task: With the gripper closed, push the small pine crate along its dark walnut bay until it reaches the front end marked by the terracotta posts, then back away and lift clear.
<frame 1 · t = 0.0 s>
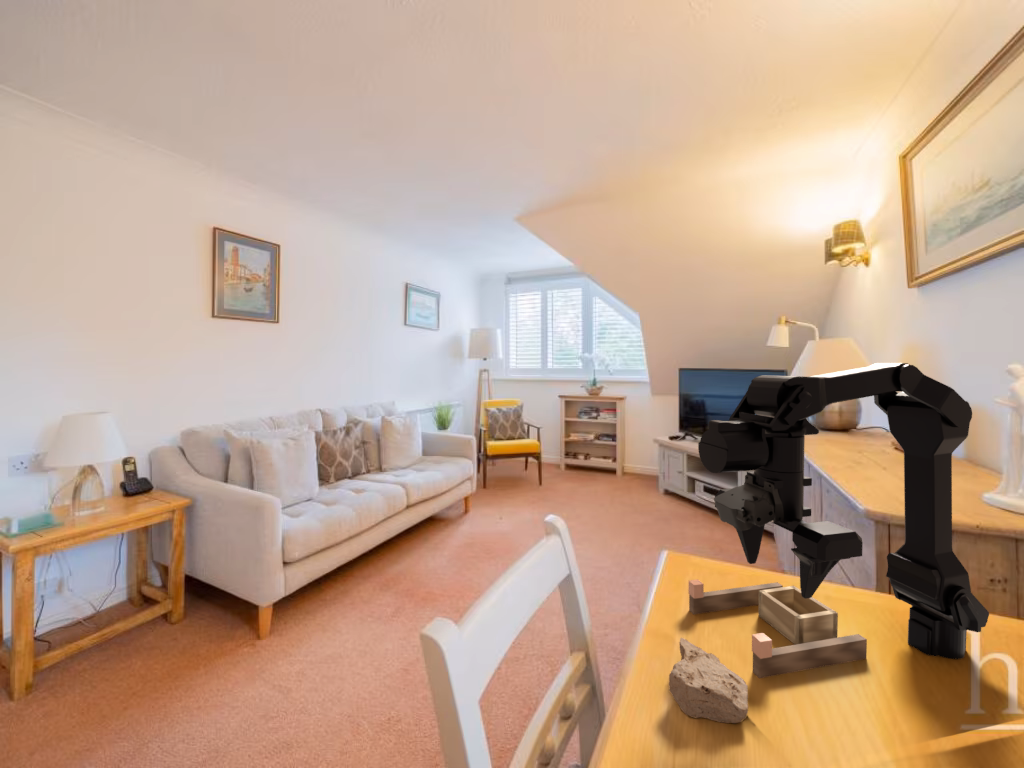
hand: (776, 579, 57), 15 cm above the table, fingers open, 9 cm apart
bay: (769, 637, 66), on the table
stone: (701, 698, 55), on the table
crate: (796, 614, 67), point 3 cm above the table, slide at 0.0 cm
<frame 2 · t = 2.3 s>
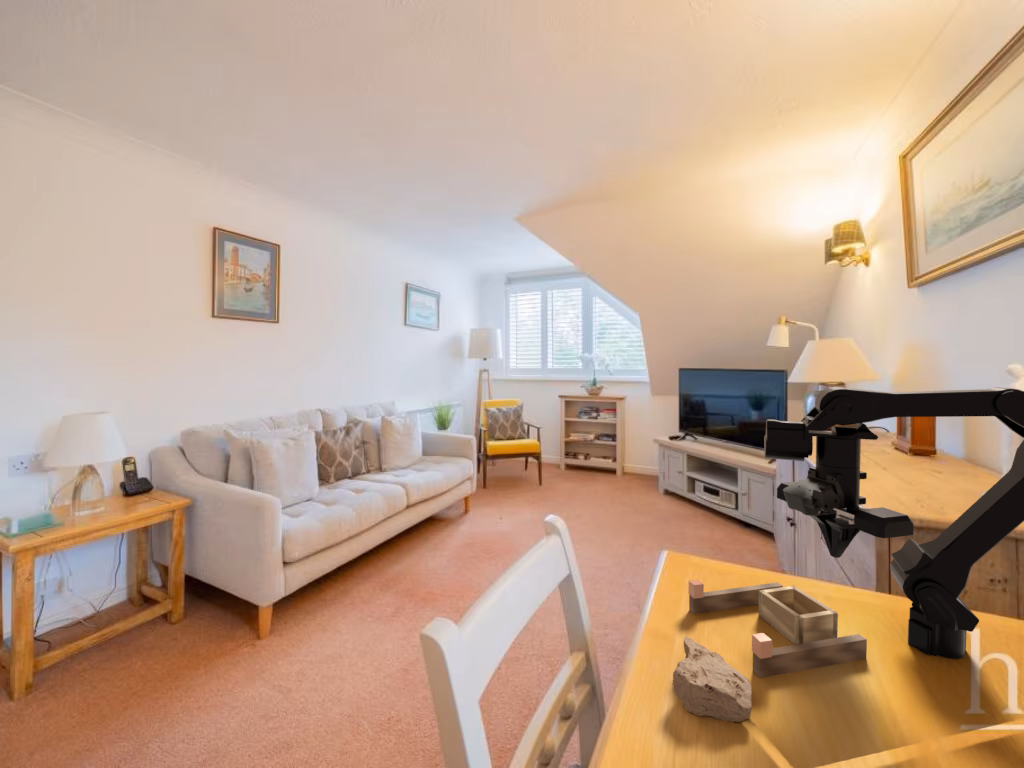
hand: (835, 556, 68), 12 cm above the table, fingers closed
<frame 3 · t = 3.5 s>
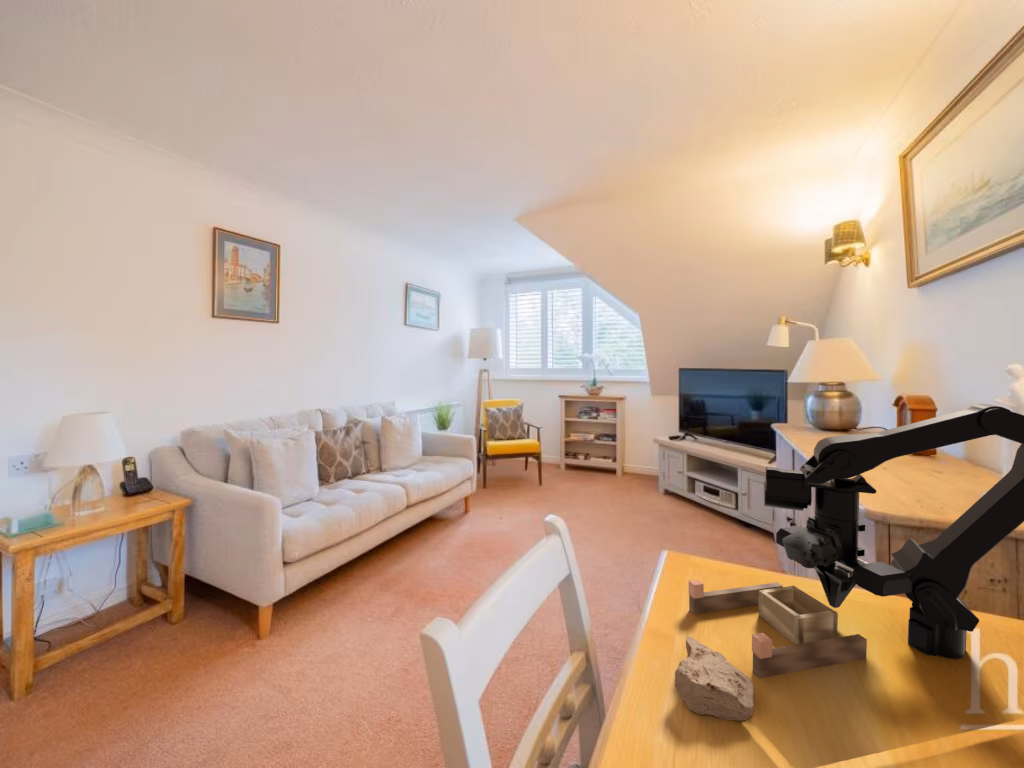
hand: (834, 606, 68), 4 cm above the table, fingers closed
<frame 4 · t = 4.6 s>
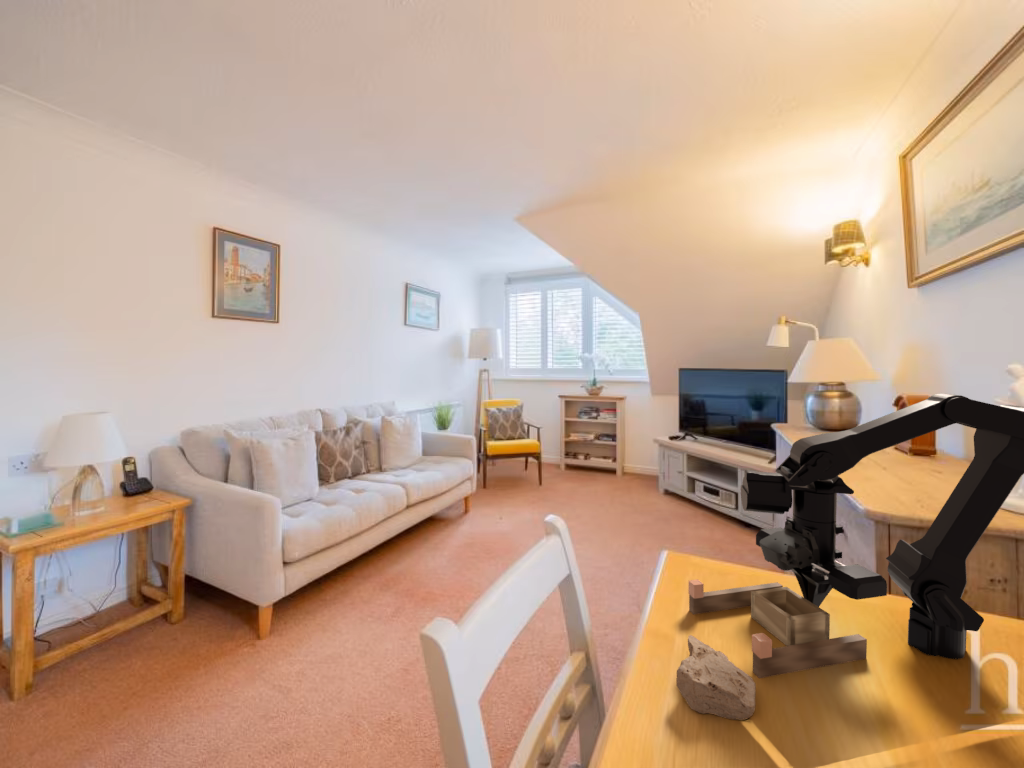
hand: (812, 609, 68), 4 cm above the table, fingers closed
crate: (788, 615, 67), point 3 cm above the table, slide at 1.5 cm, touching gripper
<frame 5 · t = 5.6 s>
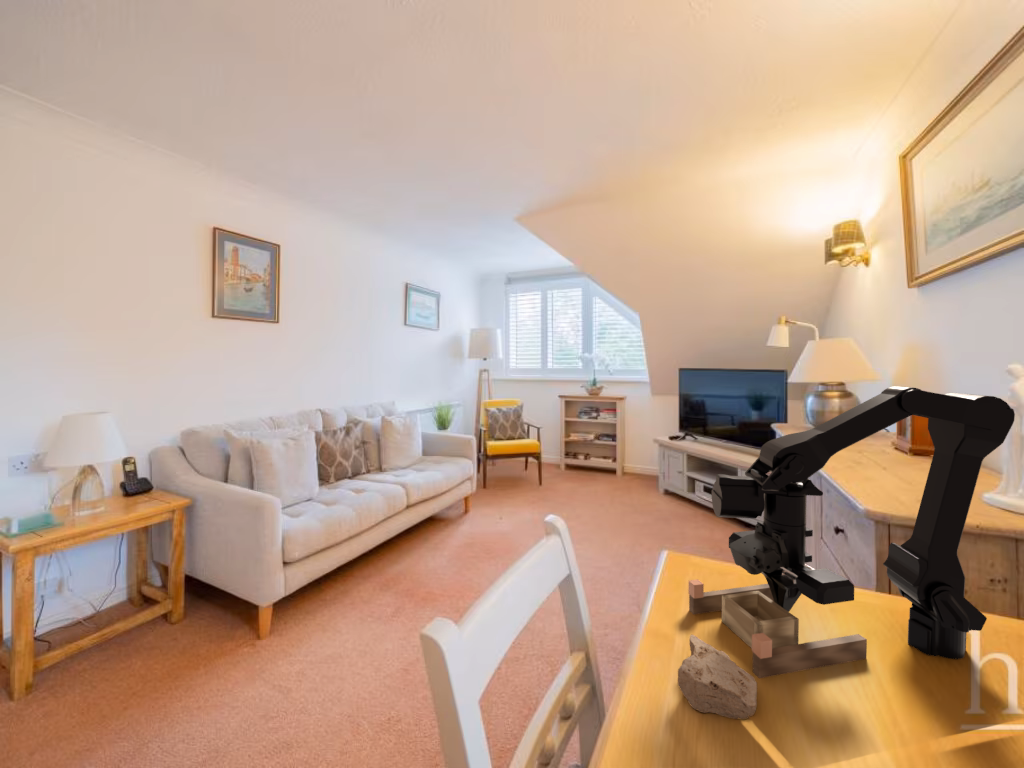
hand: (782, 613, 67), 4 cm above the table, fingers closed, pressing on crate
crate: (758, 620, 66), point 3 cm above the table, slide at 7.1 cm, touching gripper
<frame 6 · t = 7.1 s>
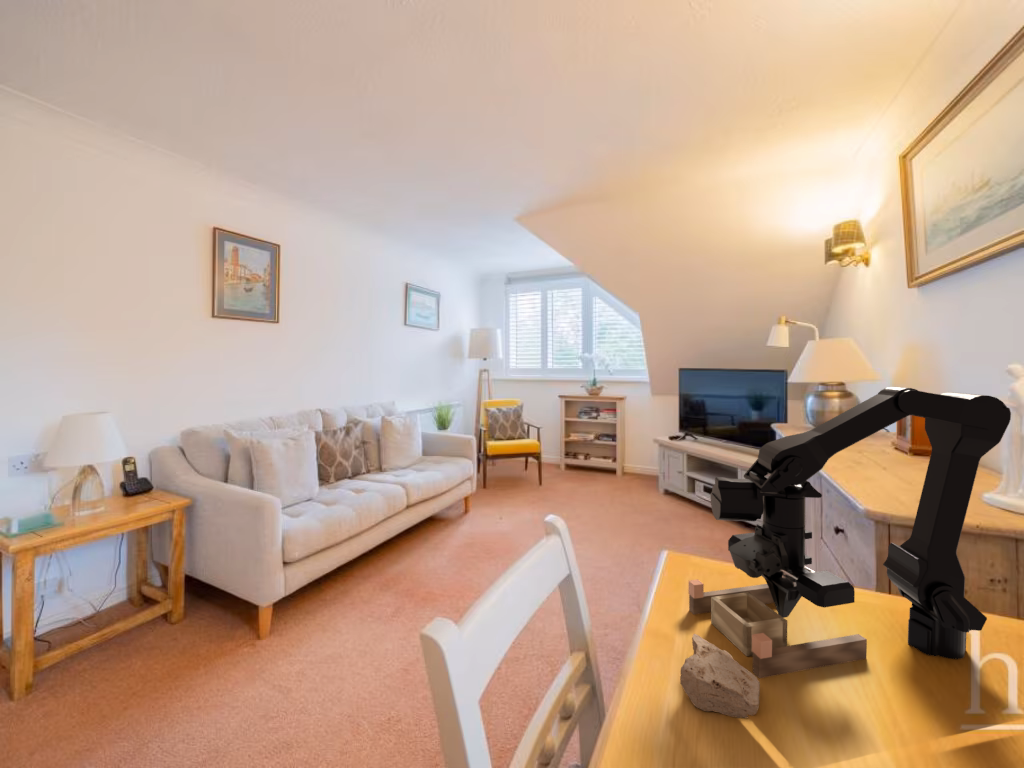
hand: (783, 616, 67), 3 cm above the table, fingers closed
crate: (747, 622, 66), point 3 cm above the table, slide at 9.1 cm
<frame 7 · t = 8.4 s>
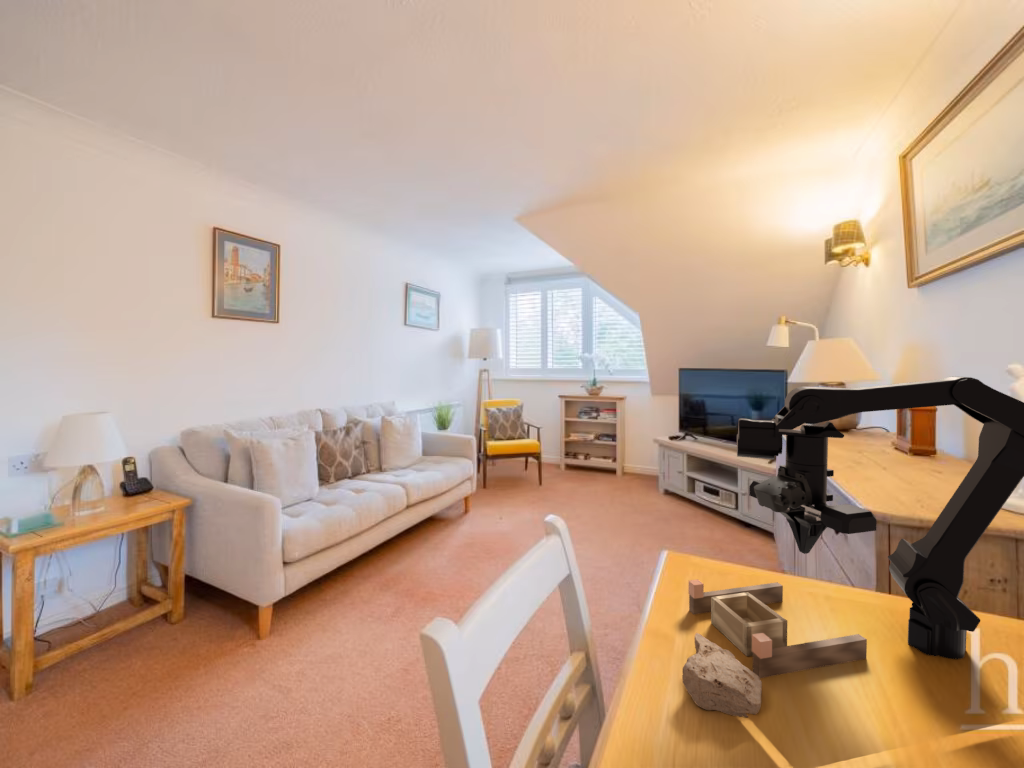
hand: (804, 552, 70), 12 cm above the table, fingers closed
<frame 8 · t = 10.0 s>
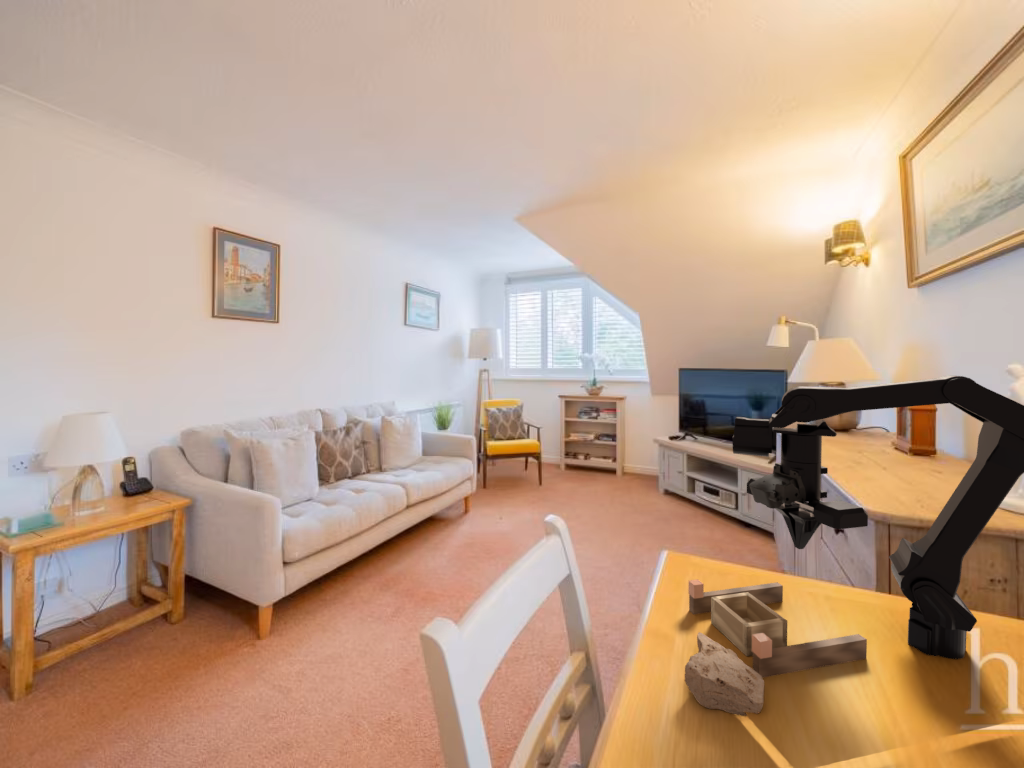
hand: (799, 548, 71), 12 cm above the table, fingers closed
at the end: crate slide at 9.1 cm; the gripper is holding nothing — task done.
